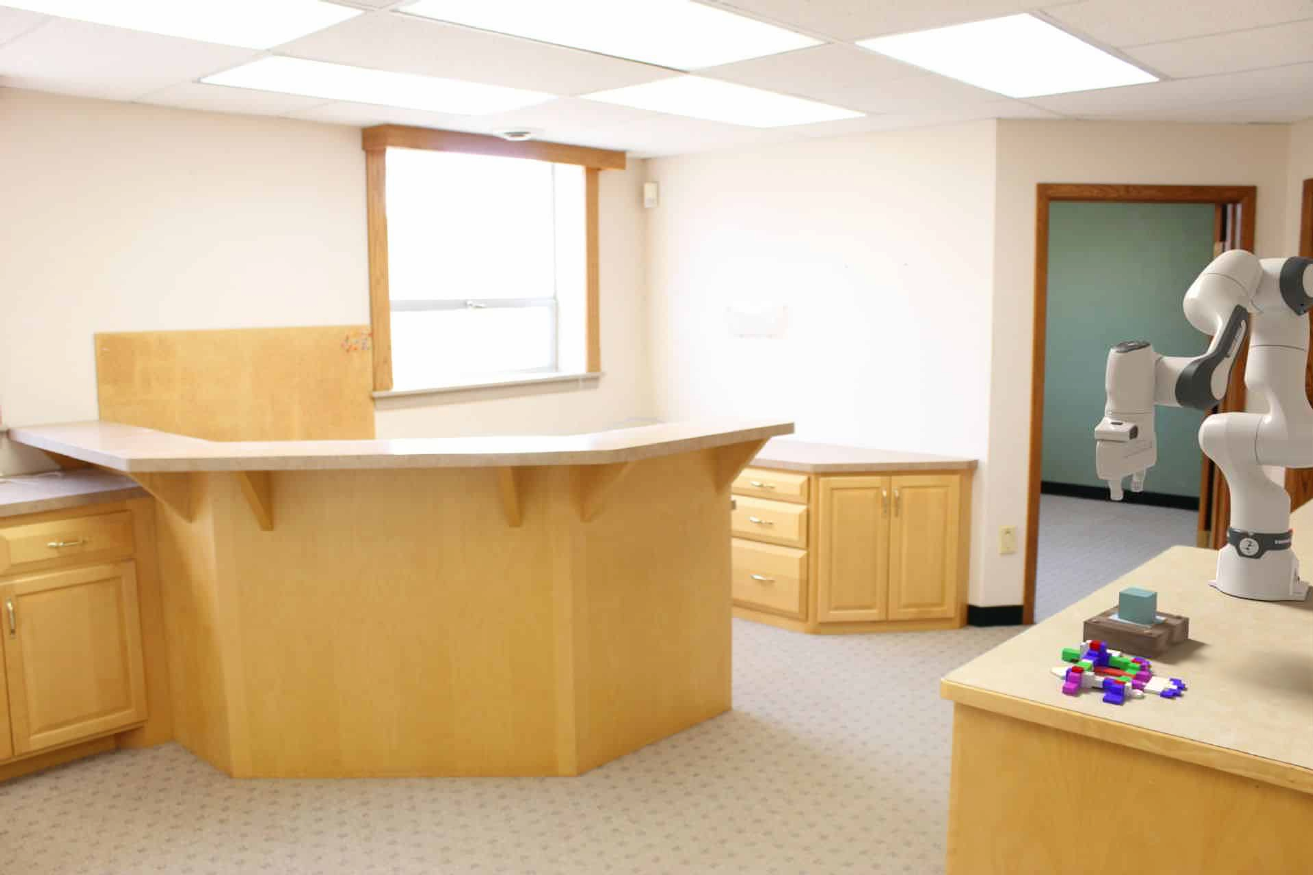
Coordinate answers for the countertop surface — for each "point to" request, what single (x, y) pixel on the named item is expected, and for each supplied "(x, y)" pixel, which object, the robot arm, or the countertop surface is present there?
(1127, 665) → the building block set
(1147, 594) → the teal block
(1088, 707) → the countertop surface
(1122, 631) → the plinth
